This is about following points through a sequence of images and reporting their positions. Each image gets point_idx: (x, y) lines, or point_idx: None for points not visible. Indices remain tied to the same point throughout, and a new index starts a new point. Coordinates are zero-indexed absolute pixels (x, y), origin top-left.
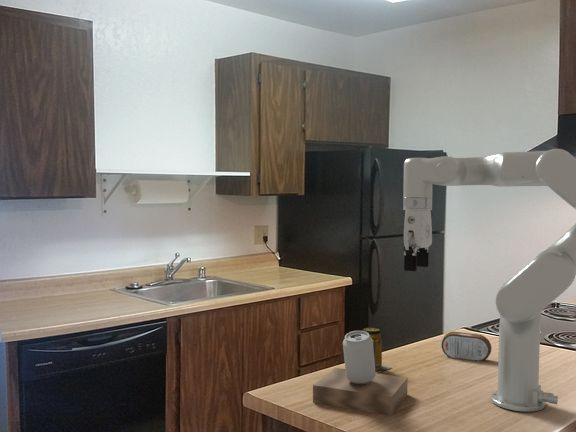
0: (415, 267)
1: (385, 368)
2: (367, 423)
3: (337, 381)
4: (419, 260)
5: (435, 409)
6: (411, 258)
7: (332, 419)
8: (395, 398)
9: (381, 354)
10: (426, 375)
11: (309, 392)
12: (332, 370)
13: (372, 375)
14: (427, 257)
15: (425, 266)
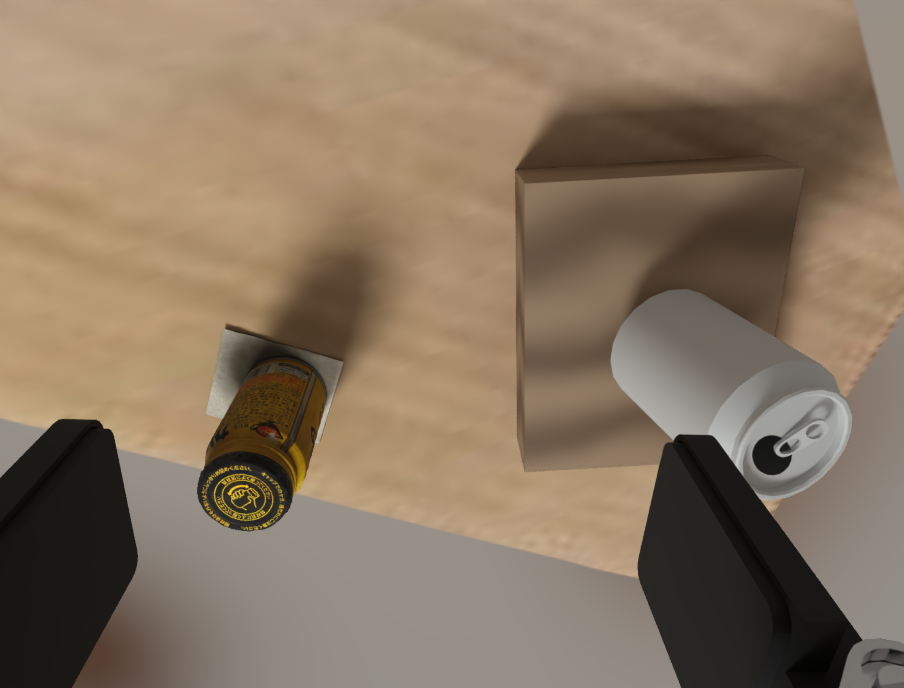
0: (731, 469)
1: (248, 348)
2: (864, 204)
3: None
4: (90, 600)
5: (641, 6)
6: (851, 639)
7: (857, 316)
8: (720, 167)
9: (261, 388)
10: (222, 168)
11: (641, 467)
12: (563, 468)
13: (700, 296)
14: (4, 530)
15: (115, 446)
